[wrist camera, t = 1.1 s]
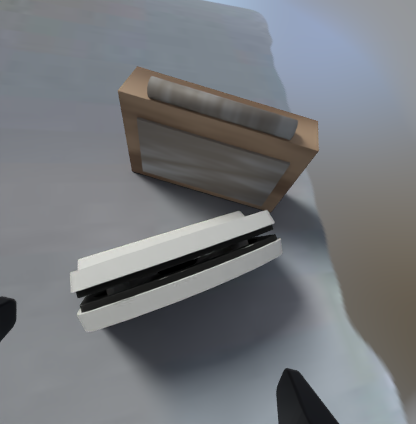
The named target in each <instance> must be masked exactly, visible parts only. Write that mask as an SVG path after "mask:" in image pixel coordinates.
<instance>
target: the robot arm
mask: <svg viewBox="0 0 416 424" xmlns="http://www.w3.org/2000/svg"><path fill="white" fill-rule="evenodd" d="M15 322H16V301H15V300H14V299H12V298H8V297H0V342H1V340H2V339H3V338H4V337H5V336H6V335H7V333H8V332H9V331H10V330H11V329H12V328H13V326H14V324H15ZM276 396H277V409H278V423H279V424H339V423H338V422H337V420H336V419H335V418H334V416H333V415H332V414H331V413H330V411H329V410H328V409H327V407H326V406H325V405H324V403H323V402H322V401H321V399H320V398H319V397H318V396H317V394H316V393H315V392H314V390H313V389H312V388H311V386H310V385H309V384H308V383H307V381H306V380H305V379H304V377H303V376H302V375H301V373H300V372H299V371H297V370H293V369H289V368H286V369H284V371H283V373H282V376H281V378H280V381H279V383H278V386H277V391H276Z"/></svg>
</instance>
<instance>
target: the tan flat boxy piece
mask: <svg viewBox="0 0 416 424" xmlns="http://www.w3.org/2000/svg"><path fill="white" fill-rule="evenodd" d="M118 94H119V100H120V106H121V111H122V117H123V123H124V128H125V134H126V140H127V145H128V151H129V156H130V162H131V168H132V171H133V172H136V173H140V174H143V175H146V176H150V177H153V178H156V179H160V180H163V181H167V182H170V183H173V184H177V185H180V186H183V187H187V188H190V189H193V190H197V191H200V192H204V193H207V194H210V195H214V196H217V197H220V198H224V199H227V200H230V201H234V202H237V203H241V204H244V205H247V206H251V207H254V208H257V209H261V210H264V211H265V210H268V212H272V210H273V209H274V208H275V207H276V205H277V204H278V203H279V201H280V200H281V199H282V198H283V196H284V195H285V194H286V192H287V191H288V190H289V189H290V187H291V186H292V185H293V183H294V182H295V181H296V180H297V178H298V177H299V176H300V174H301V173H302V172H303V171H304V169H305V168H306V167H307V165H308V164H309V163H310V162H311V160H312V159H313V158H314V156H315V155H316V154H317V153H318V151H319V147H318V121H316V120H312V119H309V118H306V117H302V116H299V115H296V114H293V113H289V112H286V111H283V110H279V109H276V108H273V107H270V106H266V105H263V104H260V103H256V102H253V101H250V100H246V99H243V98H240V97H237V96H233V95H230V94H227V93H223V92H220V91H217V90H213V89H210V88H207V87H204V86H200V85H197V84H194V83H190V82H187V81H184V80H181V79H177V78H174V77H171V76H167V75H164V74H161V73H157V72H154V71H151V70H148V69H144V68H141V67H138V66H137V67H136V69H135V70H134V71H133V72H132V74H131V75H130V76H129V77H128V79H127V80H126V81H125V82H124V84H123V85H122V86H121V87H120V89H119V90H118Z"/></svg>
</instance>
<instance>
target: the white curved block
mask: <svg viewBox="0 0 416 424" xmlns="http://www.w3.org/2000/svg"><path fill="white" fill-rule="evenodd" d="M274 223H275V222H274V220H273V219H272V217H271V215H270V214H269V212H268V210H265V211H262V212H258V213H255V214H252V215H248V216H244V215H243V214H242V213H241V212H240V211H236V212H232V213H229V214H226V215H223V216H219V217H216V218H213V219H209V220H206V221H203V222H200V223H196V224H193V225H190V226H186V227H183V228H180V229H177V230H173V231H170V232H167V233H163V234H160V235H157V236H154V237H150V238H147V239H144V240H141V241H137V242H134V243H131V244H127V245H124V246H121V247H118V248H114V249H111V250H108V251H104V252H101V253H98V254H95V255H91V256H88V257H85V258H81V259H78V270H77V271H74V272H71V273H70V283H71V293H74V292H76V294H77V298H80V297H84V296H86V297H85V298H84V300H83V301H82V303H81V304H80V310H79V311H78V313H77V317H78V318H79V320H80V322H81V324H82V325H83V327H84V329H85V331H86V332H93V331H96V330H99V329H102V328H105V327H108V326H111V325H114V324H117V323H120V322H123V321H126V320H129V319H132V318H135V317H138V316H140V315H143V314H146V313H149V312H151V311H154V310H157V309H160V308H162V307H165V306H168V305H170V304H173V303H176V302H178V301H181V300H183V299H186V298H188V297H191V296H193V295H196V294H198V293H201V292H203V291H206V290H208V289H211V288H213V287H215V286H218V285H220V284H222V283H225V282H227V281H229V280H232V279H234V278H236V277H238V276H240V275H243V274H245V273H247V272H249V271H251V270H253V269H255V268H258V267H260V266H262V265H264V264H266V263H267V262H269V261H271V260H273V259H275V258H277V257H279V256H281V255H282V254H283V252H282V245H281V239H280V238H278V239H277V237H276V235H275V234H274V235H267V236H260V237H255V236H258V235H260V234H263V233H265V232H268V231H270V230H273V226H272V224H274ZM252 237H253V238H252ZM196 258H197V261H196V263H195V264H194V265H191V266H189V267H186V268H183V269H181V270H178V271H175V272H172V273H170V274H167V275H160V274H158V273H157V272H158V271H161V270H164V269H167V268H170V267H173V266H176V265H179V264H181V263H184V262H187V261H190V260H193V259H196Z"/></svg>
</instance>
